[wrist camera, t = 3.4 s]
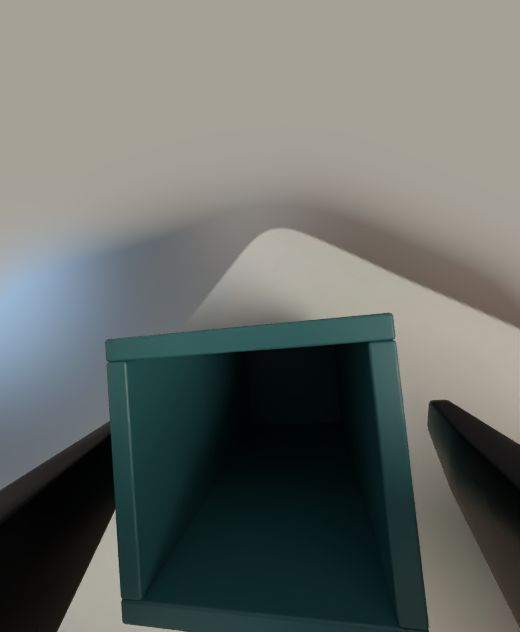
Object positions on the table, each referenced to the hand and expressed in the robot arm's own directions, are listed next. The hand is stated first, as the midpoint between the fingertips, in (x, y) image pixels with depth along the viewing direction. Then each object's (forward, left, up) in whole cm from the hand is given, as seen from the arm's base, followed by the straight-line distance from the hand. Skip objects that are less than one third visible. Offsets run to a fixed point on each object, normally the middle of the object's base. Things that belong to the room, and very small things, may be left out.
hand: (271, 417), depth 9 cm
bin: (+2, -1, -7) cm, 8 cm away
